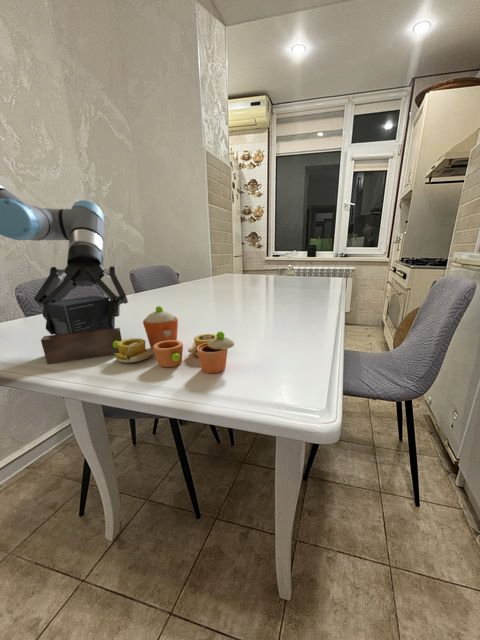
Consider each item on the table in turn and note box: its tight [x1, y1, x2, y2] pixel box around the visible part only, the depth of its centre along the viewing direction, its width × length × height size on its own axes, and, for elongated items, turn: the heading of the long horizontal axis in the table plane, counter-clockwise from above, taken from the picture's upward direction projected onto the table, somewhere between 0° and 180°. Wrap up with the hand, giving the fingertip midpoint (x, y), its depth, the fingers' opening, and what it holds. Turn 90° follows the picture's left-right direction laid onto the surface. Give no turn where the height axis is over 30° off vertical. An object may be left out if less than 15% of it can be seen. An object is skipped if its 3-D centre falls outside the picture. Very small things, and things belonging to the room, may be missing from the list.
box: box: [47, 295, 110, 335], centre depth 66 cm, size 11×7×10 cm, turn 155°
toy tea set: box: [113, 305, 235, 374], centre depth 60 cm, size 26×16×10 cm, turn 72°
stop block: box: [40, 327, 123, 365], centre depth 61 cm, size 14×3×5 cm, turn 116°
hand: (81, 329), depth 64 cm, fingers closed on box, 11 cm apart
